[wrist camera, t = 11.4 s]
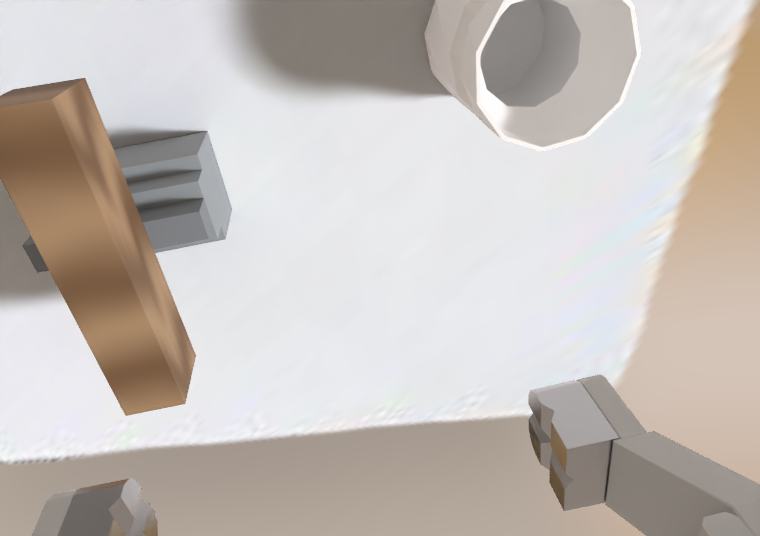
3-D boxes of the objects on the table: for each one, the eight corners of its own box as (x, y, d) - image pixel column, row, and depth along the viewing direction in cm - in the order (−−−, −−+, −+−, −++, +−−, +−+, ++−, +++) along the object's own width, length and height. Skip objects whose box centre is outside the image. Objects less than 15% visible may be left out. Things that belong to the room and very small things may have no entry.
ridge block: (62, 158, 37) (3, 212, 30) (207, 131, 38) (187, 177, 30) (98, 234, 40) (53, 301, 33) (231, 208, 41) (219, 268, 33)
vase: (569, 1, 37) (677, 21, 27) (502, 118, 41) (575, 175, 30) (462, -66, 34) (538, -73, 24) (399, 67, 38) (442, 110, 27)
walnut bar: (12, 89, 27) (-34, 113, 23) (84, 77, 27) (51, 99, 23) (143, 366, 36) (125, 415, 32) (195, 355, 36) (185, 403, 32)
